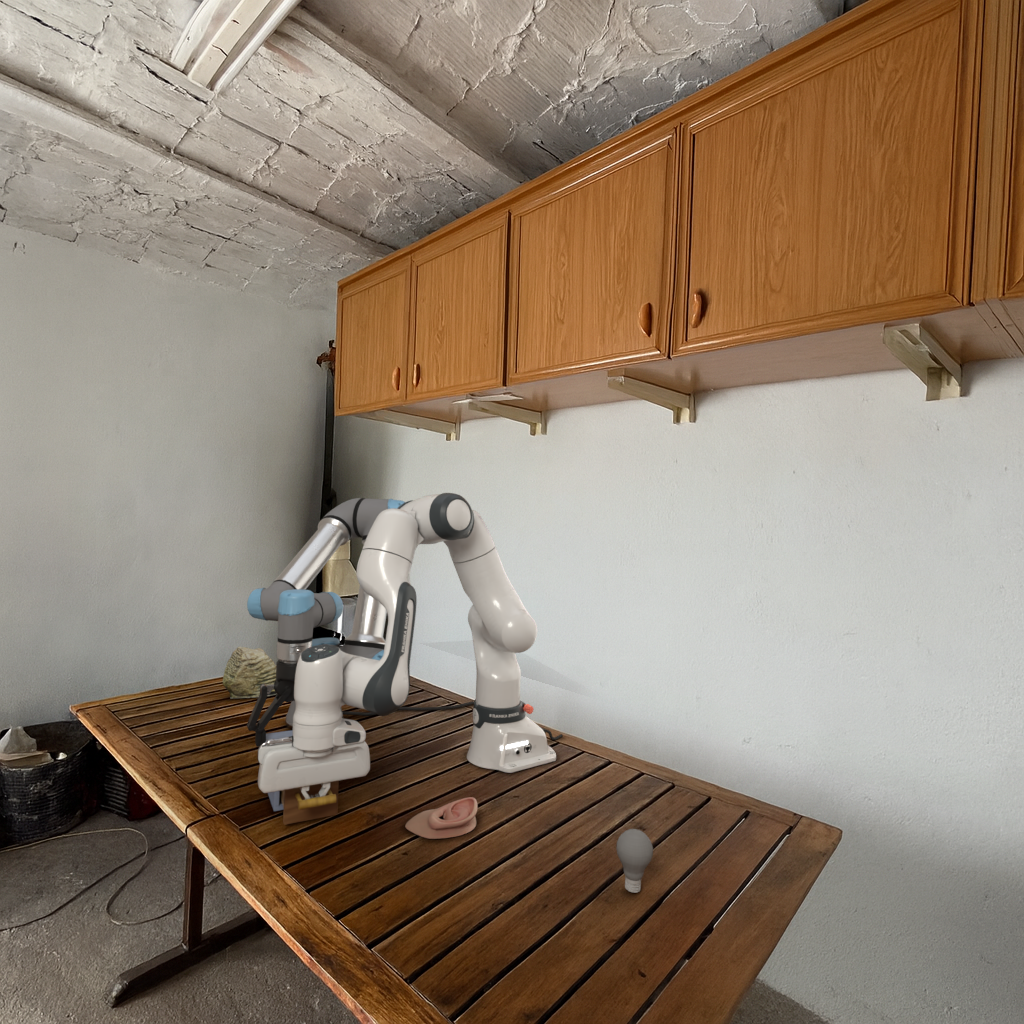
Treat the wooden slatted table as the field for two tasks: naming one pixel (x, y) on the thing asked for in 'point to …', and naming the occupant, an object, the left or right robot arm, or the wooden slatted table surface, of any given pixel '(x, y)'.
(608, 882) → the wooden slatted table surface
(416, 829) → the anatomical model
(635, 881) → the light bulb
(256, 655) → the fossil
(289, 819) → the drawer
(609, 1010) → the wooden slatted table surface
